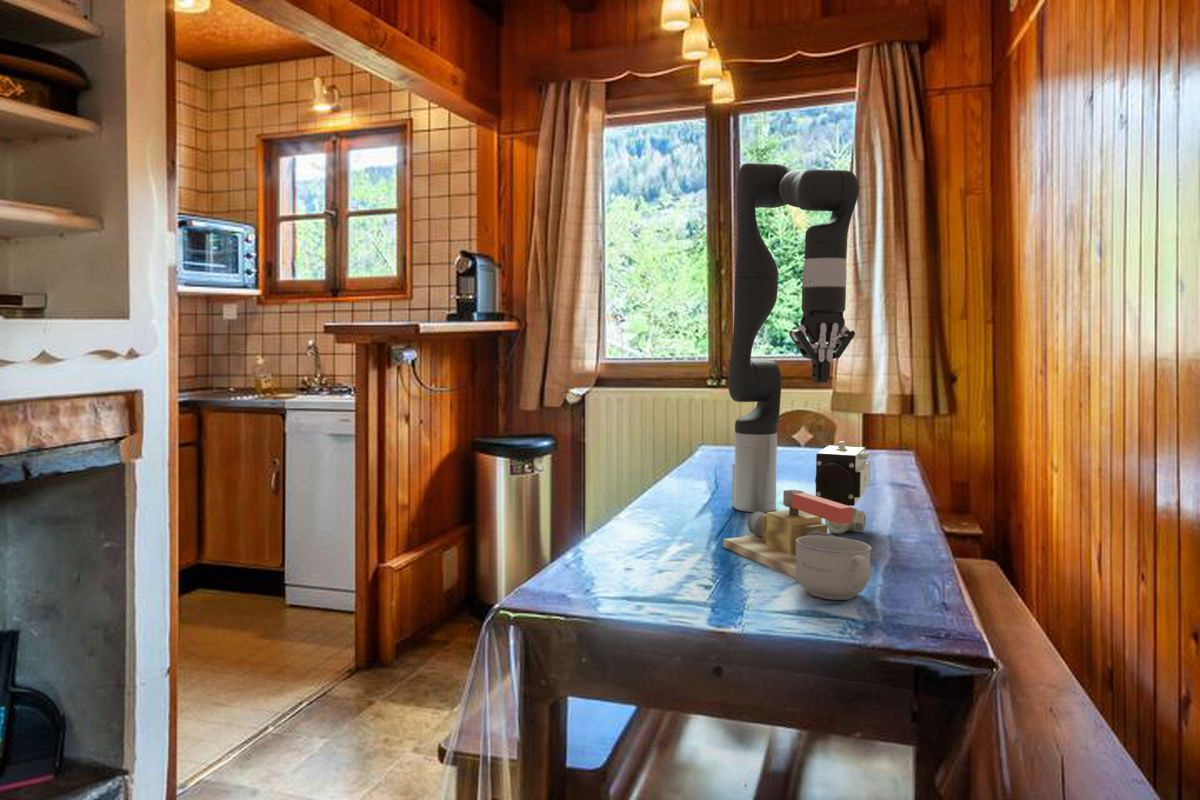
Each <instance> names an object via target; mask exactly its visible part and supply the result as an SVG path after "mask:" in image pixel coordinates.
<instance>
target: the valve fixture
mask: <svg viewBox="0 0 1200 800" xmlns="http://www.w3.org/2000/svg"><path fill="white" fill-rule="evenodd" d="M822 519H823V518H820V517H817V516H815V515H812V514H809V513H806V512H803V511H800V510H797V509H794V508H791V507H788V509H786V510H785V509H784V510H777V511H775V510H774V511H769V512H760V511H757V512H752V514H751V515H750V516H749V518H748V522H747V528H748V530H749V532H750V533H751V535H743V536H738V537H737V536H736V537H735V536H734V537H729V538H723V542H722V543H723V546H722V547H723V548H725V549H727V550H730V551H732V552H735V553H736V554H738V555H742V556H743V557H746V558H748V559H750V560H753V561H755V562H756V563H757V562H758V563H760V564H762V565H765V566H767V567H769V568H771V569H774V570H776V571H778V572H780V573H783V574H785V575H787V574H788V576H789V575H790V577H792V576H793V577H792V578H794V577H795V579H796V578H797V577H796V570H795V560H796V539H797V538H799V537H802V536H814V535H819V536H833V537H837V536H836V535H833V534H832V535H831V534H829V533H828V528H827V525H826V523H823V522H822Z"/></svg>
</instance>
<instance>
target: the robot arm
mask: <svg viewBox="0 0 1200 800" xmlns="http://www.w3.org/2000/svg"><path fill="white" fill-rule="evenodd" d="M738 170H739V171H738V173H737V179H736V191H735V193H736V195H735V196H736V200H735V201H736V226H737V227H736V230H737V235H736V236H737V240H736V241H737V242H736V244H737V245H736V255H735V256H736V257H735V258H736V260H735V275H734V288H733V289H734V293H733V294H734V300H733V301H734V302H733V303H734V304H733V308H734V309H733V330H732V339H731V341H732V342H731V348H730V357H729V364H728V377H727V385H728V387H727V388H728V392H729V397H730V398H731V400H732V401H734V402H736V403H755V402H757V403H756V405H755V408H754V409H753V410H752V411H750V412H749V413H747V414H745V415H743V416H740V417H738V418H737V419H736V420H735V421H734V422H735V423H734V463H733V464H732V477H731V478H732V479H731V480H732V481H731V482H732V485H731V487H732V490H731V493H732V495H731V496H732V497H731V499H732V500H731V505H732V506H733V507H734V509H735V510H737V511H742V512H746V513H747V512H750V513H754V512H757V511H760V512H763V513H767V512H774V511H775V510H776V509H777V467H778V466H777V465H778V464H777V463H778V462H777V460H778V459H777V457H778V454H777V453H778V424H779V421H780V414H781V413H780V410H781V396H782V374H781V373H782V372H781V369H780V366H779V364H778V363H777V362H776V361H773V360H770V359H768V360H767V359H766V360H765V359H763V360H762V359H760V360H759V359H758V360H756V359H754V360H753V359H752V360H751V357H752V350H753V346H754V343H755V339H756V337H757V335H758V333H759V332H760V330H761V328H762V326H763V325H764V324H765V322H766V320H767V319H768V318H769V316H770V315H771V313H772V311H773V309H774V308H775V305H776V303H777V299H778V287H779V285H778V284H779V269H778V266H777V263H776V261H775V259H774V257H773V254H772V252H771V251H770V250H769V248H768V246H767V245H766V243H765V241H764V239H763V237H762V235H761V231H760V230H759V227H758V222H757V221H758V220H757V214H756V213H757V212H756V208H766V209H774V208H775V209H776V208H781V207H784V206H787V205H788V206H790V207H793V208H798V209H800V210H803V211H808V212H811V211H812V212H831V215H830V217H829V220H828V221H827V222H825V223H820V224H817V225H816V224H815V225H812V226H810V227H808V228H807V229H806V231H805V234H804V235H805V238H804V262H803V263H804V264H803V268H802V278H801V279H802V282H801V283H802V286H801V311H802V317H801V319H800V325H798V327H796V329H791V330H790V331H789V333H788V335H789V337H790V338H791V340H792V342H793V344H794V345H795V346H796V348H797V349H798V351H799V353H800V354H801V355H802V357H803V358H805V359H808V360H810V361H811V364H812V365H811V378H812V380H813V382H814V383H815V384H816V383H817V384H826V383H828V380H829V379H830V377H831V362H832V361H833V360H835V359H840V358H841V356H842V355H843V353H844V352H845V351H846V349H847V347H848V346H849V344H850V343H851V341H853V339H854V338H855V335H856V332H855V330H850V329H849V328H848V327H847V326H846V320H845V319H844V313H845V311H846V304H847V303H846V301H847V300H846V299H847V271H848V270H847V261H846V257H847V238H848V232H849V228H850V224H851V220H852V217H853V212H854V211H855V207H856V204H857V202H858V199H859V194H860V193H859V192H860V185H859V180H858V179H857V175H856V174H854V173H853V172H852V171H850V170H846V169H844V170H843V169H841V170H840V169H816V168H815V169H813V168H812V169H805V168H803V169H800V168H799V169H792V168H791V167H788V166H786V165H783V164H781V163H777V162H776V163H775V162H774V163H773V162H771V163H768V162H767V163H766V162H745V163H743V164H742V165H741V166H740V168H739V169H738Z"/></svg>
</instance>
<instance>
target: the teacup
mask: <svg viewBox="0 0 1200 800" xmlns="http://www.w3.org/2000/svg"><path fill="white" fill-rule="evenodd" d="M833 536H834V535H833ZM833 536H819V535H814V536H802V537H799V538H797V539H796V560H795V570H796V577H797V582H798V583H799V584H800V585H801V586H802V587H803V588H804V589H805V590H806V592H807V593H809V595H811V596H814V597H817V598H821V599H824V600H825V599H826V600H832V601H833V600H834V601H846V600H851V599H853V598H854V597H856V595H859V594H860V593H861V592H863V591H864V590H865V589H866V587H867V585H868V583H869V581H870V579H871V574H872V570H871V553H872V551H873V550H872V546H871V545H870V544H868V543H867V542H866V543H865V542H863V541H861V540H856V539H852V538H848V537H841V536H836V537H833Z"/></svg>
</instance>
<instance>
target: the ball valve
mask: <svg viewBox="0 0 1200 800" xmlns="http://www.w3.org/2000/svg"><path fill="white" fill-rule="evenodd" d="M869 454H870V453H869V451H866V447H865V446H854V445H853V446H852V445H846V441H845V440H844V441H843V440H840V441H838V445H836V444H834V445H833V444H829V445H828V446H826V447H824V448H823V449H821V450H820V451H819V452H817V453H816V454H815V457H816V458H815V463H816V464H815V465H816V466H815V477H814V478H815V479H814V483H815V496H818V497H821V498H824V499H827V500H831V501H834V502H837V503H840V504H844V505H847V506H850V507H853V517H852V523H847V524H838V523H835V522H832V521H829V520H826V519H824V521H825V522H824V524H826V525H827V530H828V531H830V532H831V533H833V534H837V535H840V534H844V533H846V532H850V533H857V531H865V529H866V524H867V523H866V521H867V520H866V516H867V515H866V511H863V510H859V509H858V508H856V507H855V508H854V506H855V505H857V503H858V501H860V499H861V498H862V496H863V495H864V494H865V491H866V490H867V489H868V487H869V486H870V477H871V476H870V475H871V472H870V471H871V468H870V467H871V462H870V461H866V460H868V459H869V458H870V457H869Z"/></svg>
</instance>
